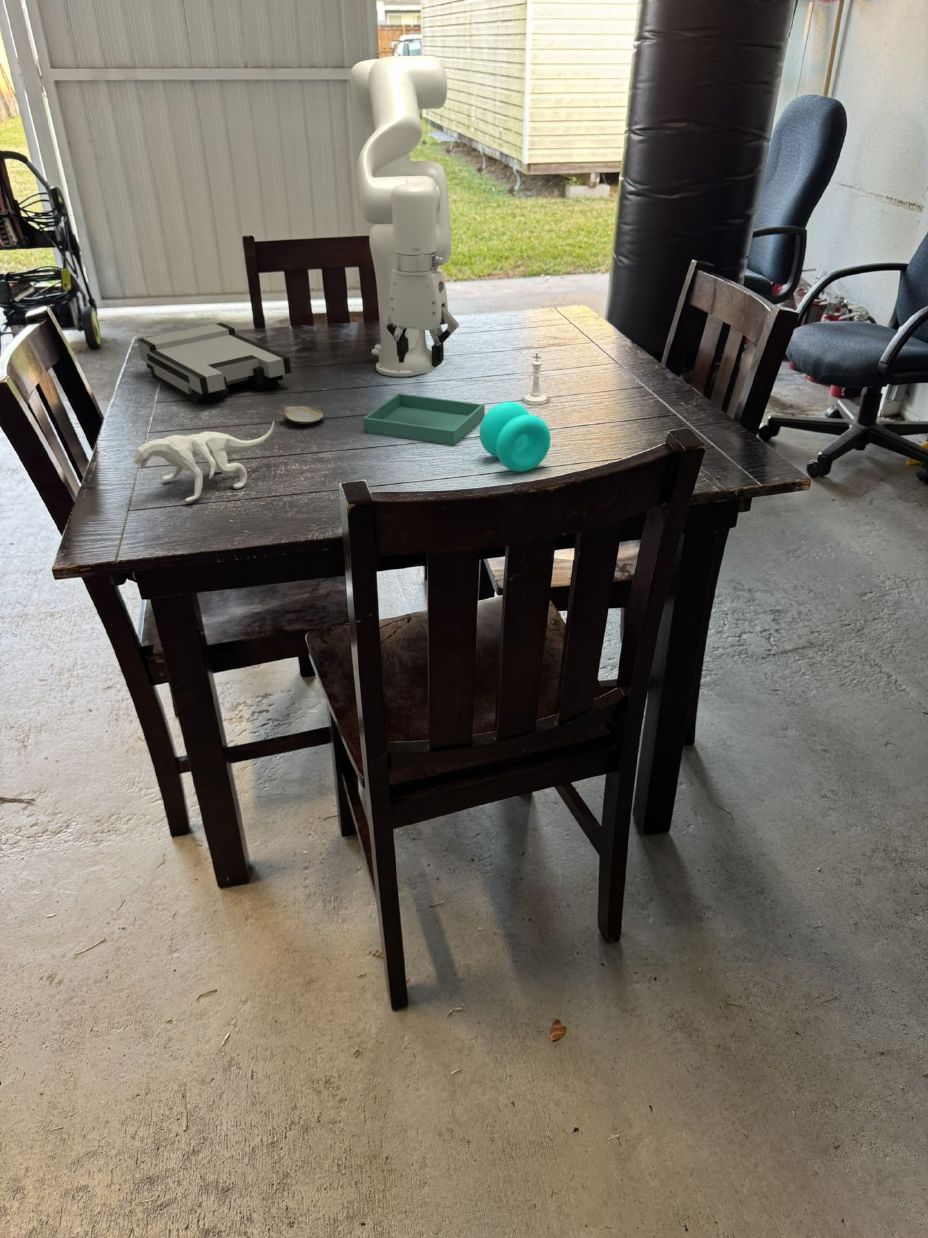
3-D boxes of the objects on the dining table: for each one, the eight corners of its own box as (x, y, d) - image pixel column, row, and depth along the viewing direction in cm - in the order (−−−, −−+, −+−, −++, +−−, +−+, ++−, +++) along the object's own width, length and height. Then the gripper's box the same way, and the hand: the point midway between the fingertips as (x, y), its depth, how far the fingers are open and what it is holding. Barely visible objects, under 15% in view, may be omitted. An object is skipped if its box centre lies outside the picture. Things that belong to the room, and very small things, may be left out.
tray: (363, 431, 163) (362, 418, 162) (399, 406, 175) (398, 393, 173) (454, 445, 157) (453, 431, 155) (484, 417, 169) (484, 404, 167)
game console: (205, 411, 174) (197, 372, 170) (145, 375, 195) (136, 339, 190) (293, 389, 185) (288, 351, 180) (227, 356, 206) (221, 322, 201)
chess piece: (545, 405, 174) (547, 356, 168) (522, 403, 175) (523, 355, 169) (548, 397, 178) (550, 349, 172) (525, 395, 179) (526, 348, 173)
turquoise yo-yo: (500, 479, 144) (501, 423, 139) (476, 458, 152) (476, 404, 146) (552, 468, 148) (554, 413, 142) (526, 448, 155) (527, 395, 150)
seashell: (313, 438, 166) (330, 415, 171) (312, 425, 164) (329, 402, 169) (275, 427, 167) (293, 405, 172) (273, 414, 165) (291, 392, 170)
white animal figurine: (131, 490, 143) (116, 434, 138) (266, 454, 155) (257, 401, 150) (155, 516, 135) (141, 458, 129) (296, 475, 147) (288, 420, 142)
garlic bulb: (403, 365, 162) (401, 323, 158) (435, 363, 163) (434, 321, 158) (405, 376, 157) (403, 333, 152) (438, 374, 158) (437, 331, 153)
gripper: (469, 260, 149) (470, 361, 159) (382, 253, 154) (388, 351, 165) (452, 270, 143) (454, 374, 153) (362, 262, 149) (370, 363, 159)
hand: (420, 361), depth 159 cm, fingers closed on garlic bulb, 6 cm apart
